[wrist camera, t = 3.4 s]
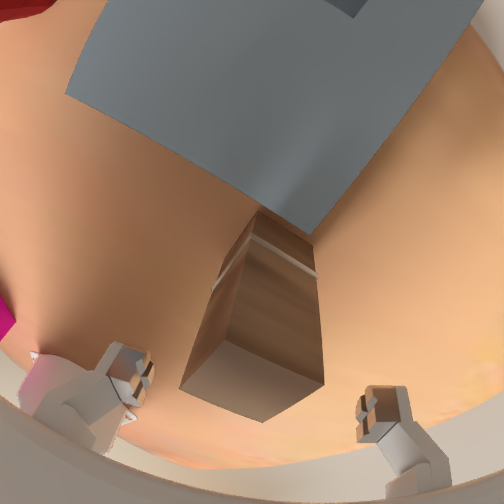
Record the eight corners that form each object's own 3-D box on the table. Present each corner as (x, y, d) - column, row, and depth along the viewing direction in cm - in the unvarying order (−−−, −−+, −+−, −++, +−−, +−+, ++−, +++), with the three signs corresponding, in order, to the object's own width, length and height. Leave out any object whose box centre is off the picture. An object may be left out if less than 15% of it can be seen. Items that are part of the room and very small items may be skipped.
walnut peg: (276, 289, 20) (262, 424, 11) (222, 258, 19) (176, 388, 11) (314, 245, 18) (327, 384, 9) (257, 209, 17) (223, 337, 9)
